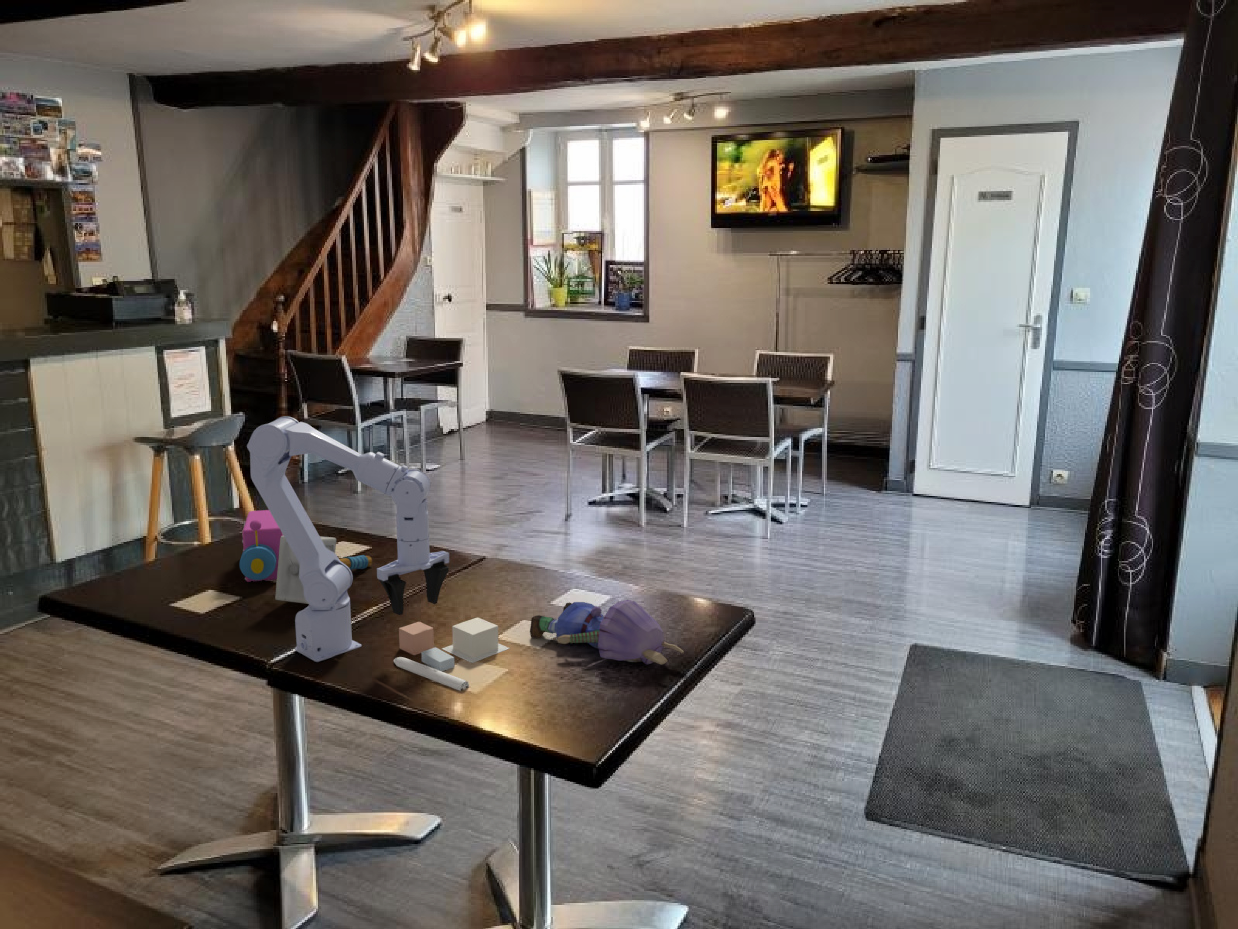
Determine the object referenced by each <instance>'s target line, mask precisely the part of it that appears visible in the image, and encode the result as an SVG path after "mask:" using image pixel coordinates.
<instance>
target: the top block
mask: <svg viewBox="0 0 1238 929" xmlns="http://www.w3.org/2000/svg"><path fill="white" fill-rule="evenodd" d="M434 632H435V631H434V627H432V626H430V625H428V624H426V623H423V622H421V621H417V622H414V623H411V624H408V625H404V626H402V627H399V628H398V637H399V638H398V640H399V642H398V643H399V649H400V650H402V651H404V652H406V653H408V654H410V655H413V656H417V655H419V654H421V652H423V651H426V650H429V649H432V648H435V641H434V640H435V634H434Z"/></svg>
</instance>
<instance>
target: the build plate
mask: <svg viewBox="0 0 1238 929" xmlns="http://www.w3.org/2000/svg"><path fill="white" fill-rule="evenodd" d="M509 649H511V648H510V647H509V646H508V647H507V646H505V645H503V644H501V643H499V642H498V649H495V650H493V651H490V652H488V653H485V654H482V655H480V656H477V657H474V658H472V657H470V656H468V655H466V654H464V653H461V652H459V651H457V650H455V649H453V644H451V645H448V646H446V647H442V648H441V650H442V651H444V652H446V653H447V652H448V654H452V655H454V656H456V657H458V658H460V659H463V660H465V661H467V662H469V663H471V664H473V663H476V662H478V661H481V660H483V659H486V658H489V657H492V656H494V655H497V654H499V653H502V652H504V651H506V650H509Z"/></svg>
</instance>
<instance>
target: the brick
mask: <svg viewBox="0 0 1238 929" xmlns="http://www.w3.org/2000/svg"><path fill="white" fill-rule="evenodd" d="M420 654H421V663H424V665H426V666H429V667H431V668H434V669H437V670H439V671H442V672H445V671H447V670H451V669H453V668H455V656H452V655H450V653H447V652H446V651H444V650H443V649H440V648H438V647H436V646H434V648H432V649H429V650H426V651H423V652H421V653H420Z"/></svg>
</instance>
